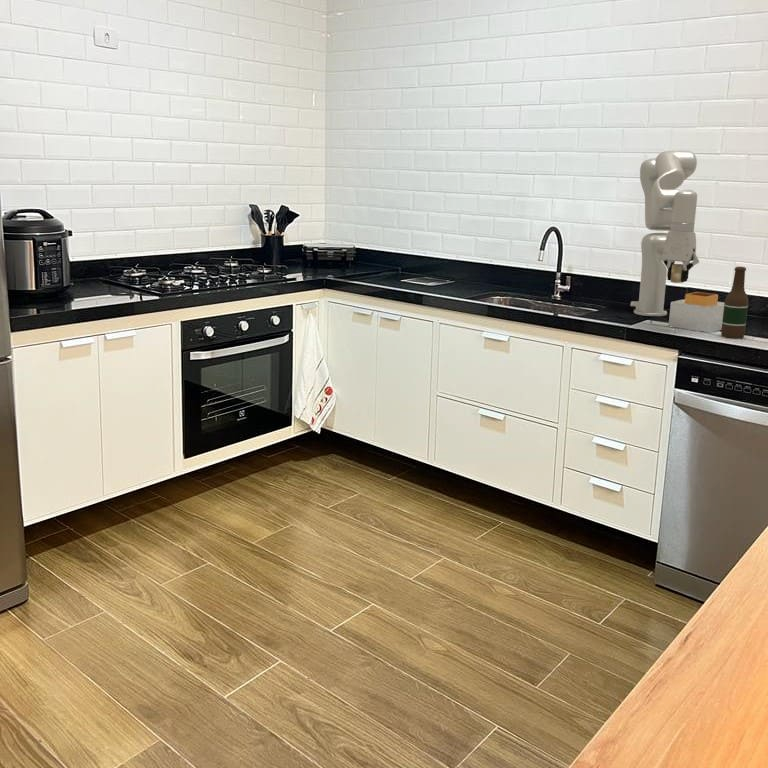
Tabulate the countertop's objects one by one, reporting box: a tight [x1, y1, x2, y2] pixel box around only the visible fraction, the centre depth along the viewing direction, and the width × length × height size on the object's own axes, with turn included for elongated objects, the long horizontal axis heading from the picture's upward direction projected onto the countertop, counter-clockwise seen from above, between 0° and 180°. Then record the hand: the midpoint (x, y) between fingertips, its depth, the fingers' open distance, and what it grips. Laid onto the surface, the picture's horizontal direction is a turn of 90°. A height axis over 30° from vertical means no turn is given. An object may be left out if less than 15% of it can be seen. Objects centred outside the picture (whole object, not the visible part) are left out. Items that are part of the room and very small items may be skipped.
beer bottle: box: [720, 266, 749, 339], centre depth 286 cm, size 8×8×24 cm
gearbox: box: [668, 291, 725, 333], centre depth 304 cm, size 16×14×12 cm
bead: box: [669, 263, 684, 284], centre depth 292 cm, size 4×4×6 cm
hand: (677, 280), depth 292 cm, fingers closed on bead, 4 cm apart
